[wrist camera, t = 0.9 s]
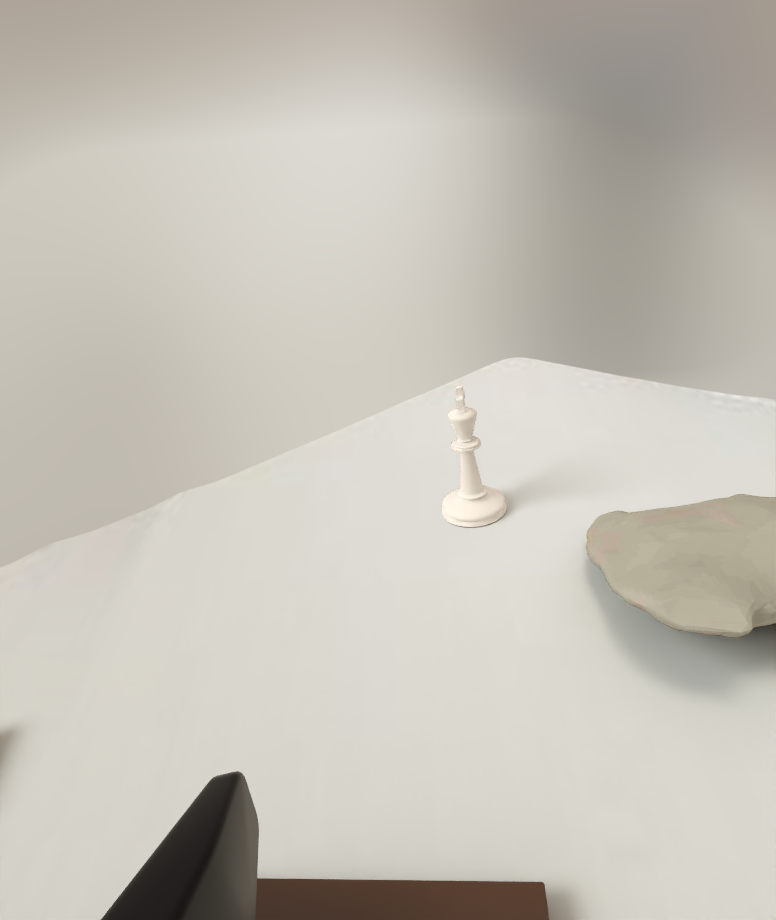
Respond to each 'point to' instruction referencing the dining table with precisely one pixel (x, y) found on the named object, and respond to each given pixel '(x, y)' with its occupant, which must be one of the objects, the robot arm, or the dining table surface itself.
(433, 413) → the dining table surface
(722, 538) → the stone tool replica
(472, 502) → the chess piece
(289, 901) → the game board
